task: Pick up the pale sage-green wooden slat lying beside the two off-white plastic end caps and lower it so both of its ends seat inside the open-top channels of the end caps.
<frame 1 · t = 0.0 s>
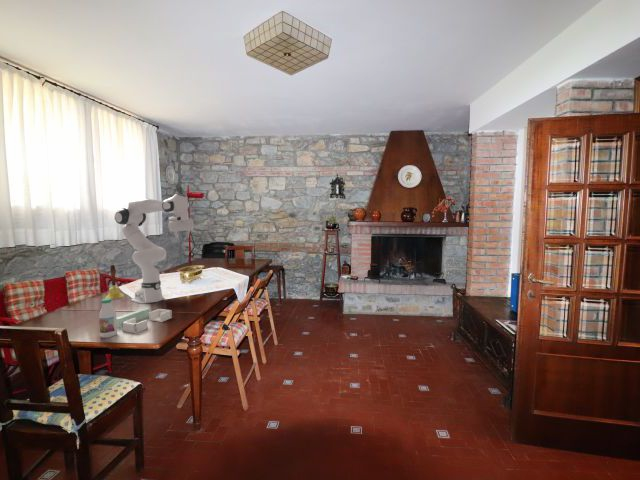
hand: (182, 237, 223), 48 cm above the table, fingers open, 8 cm apart
endcap a: (160, 318, 198), on the table
endcap b: (135, 329, 181), on the table
milk bottle: (109, 335, 173), on the table
handbell: (114, 297, 247), on the table
slat: (133, 321, 194), on the table
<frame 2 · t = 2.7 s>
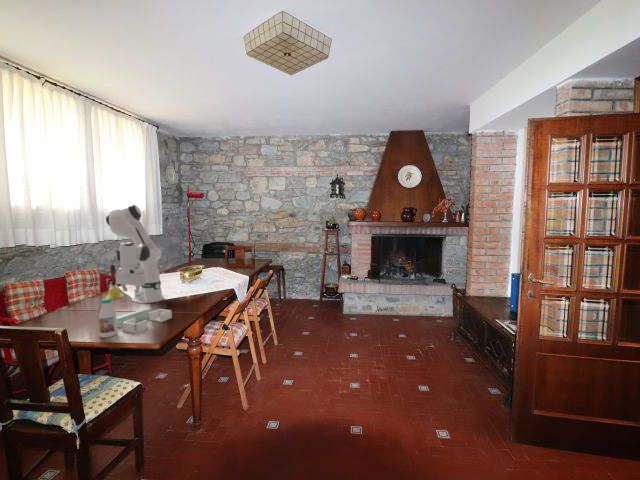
hand: (131, 291, 192), 18 cm above the table, fingers open, 8 cm apart
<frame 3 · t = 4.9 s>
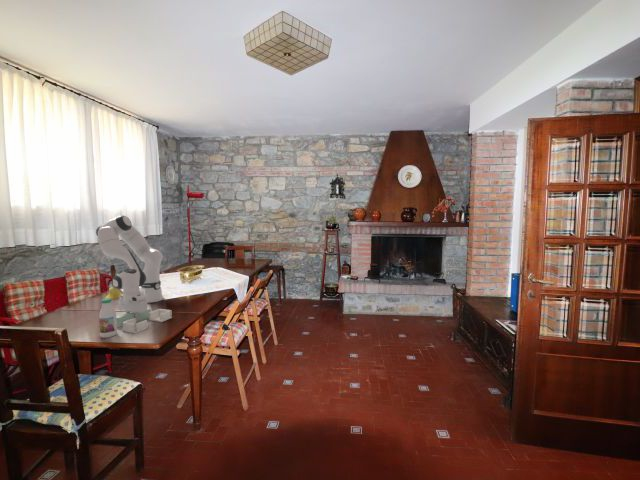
hand: (133, 318, 194), 2 cm above the table, fingers closed on slat, 4 cm apart
slat: (133, 321, 194), on the table, touching gripper
everything else where it was.
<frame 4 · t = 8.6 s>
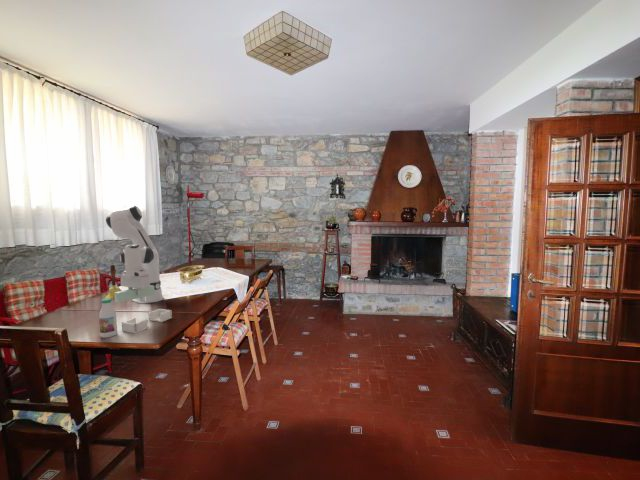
hand: (135, 294, 190), 17 cm above the table, fingers closed on slat, 4 cm apart
slat: (135, 298, 190), point 15 cm above the table, touching gripper
everything else where it was.
when the fingers open (4 cm above the table, at t = 12.2 s): slat stays where it is, resting on endcap a, endcap b.
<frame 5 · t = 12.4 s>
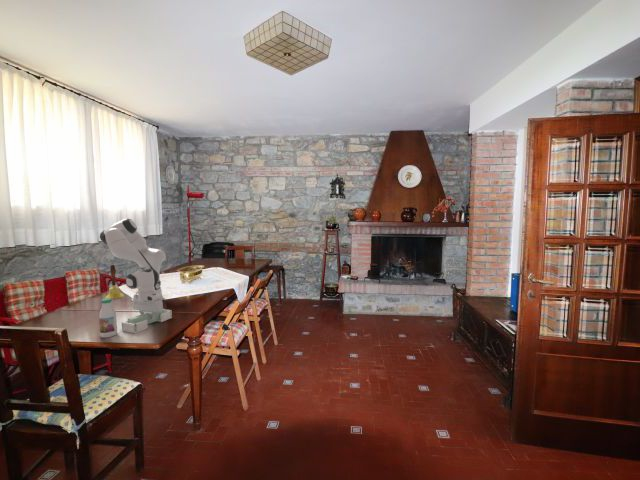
hand: (148, 318, 189), 4 cm above the table, fingers open, 6 cm apart
slat: (147, 322, 189), point 1 cm above the table, touching endcap a, endcap b
everything else where it was.
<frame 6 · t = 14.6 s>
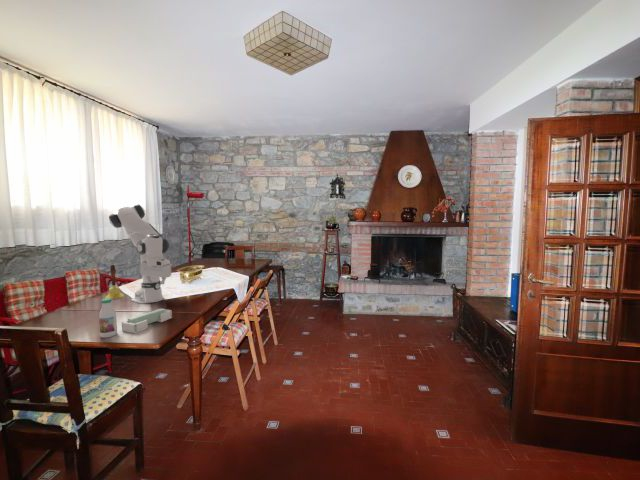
hand: (156, 283, 196), 22 cm above the table, fingers open, 8 cm apart
nothing on the table moved.
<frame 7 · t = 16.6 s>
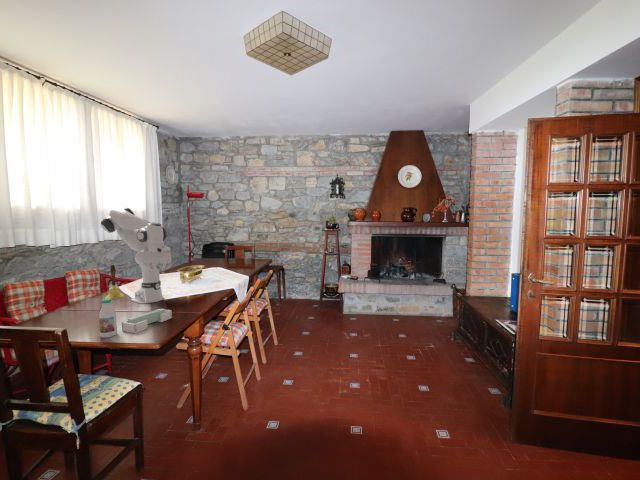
hand: (157, 269, 204), 29 cm above the table, fingers open, 8 cm apart
nothing on the table moved.
at the end: slat 0.3 cm from the target spot, point 0.8 cm above the table; slat tilted 0°; the gripper is holding nothing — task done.
